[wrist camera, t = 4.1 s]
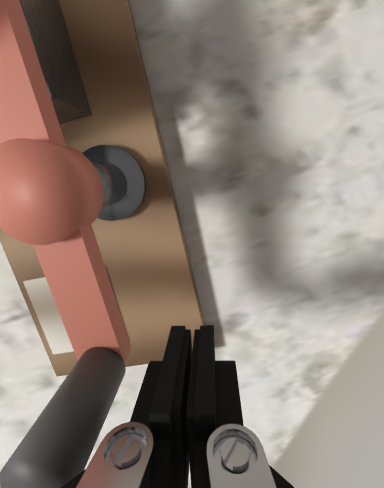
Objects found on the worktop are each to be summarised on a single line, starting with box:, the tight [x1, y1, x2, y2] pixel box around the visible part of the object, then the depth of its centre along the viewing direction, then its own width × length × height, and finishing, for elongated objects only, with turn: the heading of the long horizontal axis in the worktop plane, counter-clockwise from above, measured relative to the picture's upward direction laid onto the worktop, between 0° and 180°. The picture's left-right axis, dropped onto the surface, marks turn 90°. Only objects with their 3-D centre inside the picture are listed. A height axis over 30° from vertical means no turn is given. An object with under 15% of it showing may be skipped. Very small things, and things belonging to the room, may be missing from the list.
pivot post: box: [82, 145, 146, 221], centre depth 14 cm, size 4×4×5 cm
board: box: [0, 0, 204, 376], centre depth 17 cm, size 26×12×1 cm, turn 13°
